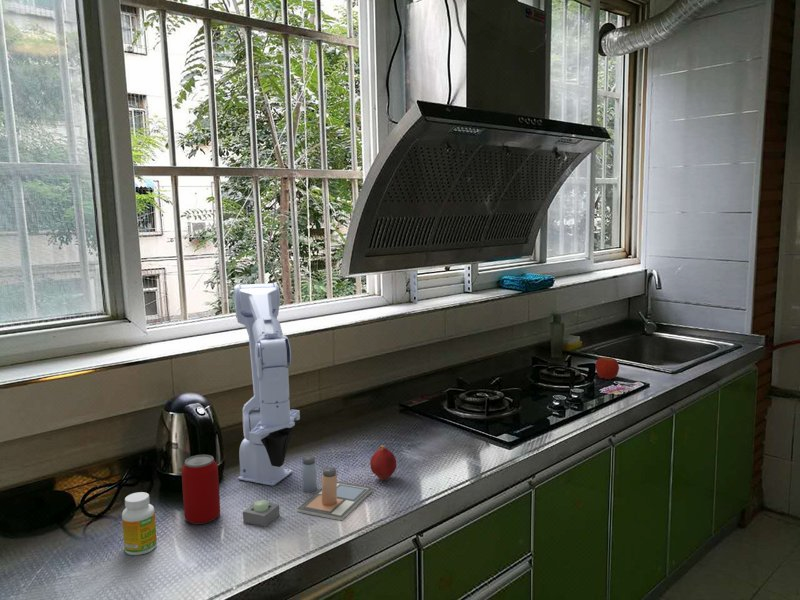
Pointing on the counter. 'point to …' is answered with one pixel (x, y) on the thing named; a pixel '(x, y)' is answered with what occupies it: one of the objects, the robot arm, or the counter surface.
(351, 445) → the counter surface
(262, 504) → the button
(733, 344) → the counter surface
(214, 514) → the beverage can
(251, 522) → the button housing
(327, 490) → the terracotta marker
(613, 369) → the apple
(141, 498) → the supplement bottle
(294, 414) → the robot arm
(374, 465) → the onion
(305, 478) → the cylinder
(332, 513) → the picture card
